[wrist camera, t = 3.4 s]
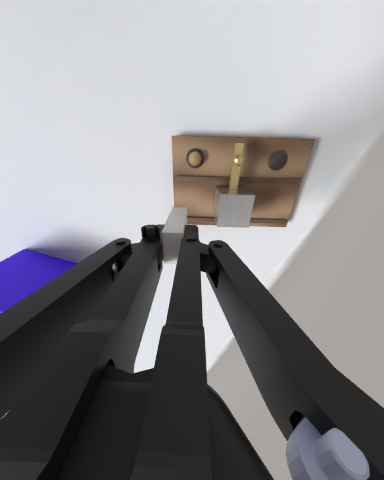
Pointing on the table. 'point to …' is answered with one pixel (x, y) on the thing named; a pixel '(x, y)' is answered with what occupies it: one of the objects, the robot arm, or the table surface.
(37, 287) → the bracket
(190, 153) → the wooden knob panel
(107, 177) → the table surface
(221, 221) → the slider with brass pointer
